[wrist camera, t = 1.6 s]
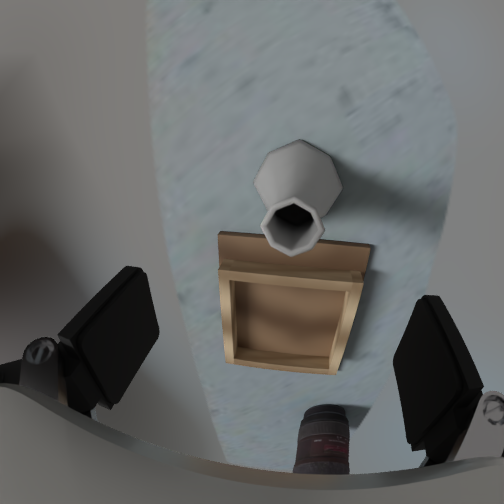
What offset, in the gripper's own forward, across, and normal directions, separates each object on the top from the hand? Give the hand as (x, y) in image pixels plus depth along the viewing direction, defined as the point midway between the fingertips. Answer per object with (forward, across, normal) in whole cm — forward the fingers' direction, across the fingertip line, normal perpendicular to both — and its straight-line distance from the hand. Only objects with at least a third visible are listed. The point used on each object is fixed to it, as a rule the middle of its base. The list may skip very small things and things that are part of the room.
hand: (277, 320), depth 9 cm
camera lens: (+17, -8, +34) cm, 39 cm away
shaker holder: (+17, 0, +13) cm, 21 cm away
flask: (+17, 0, -1) cm, 17 cm away
